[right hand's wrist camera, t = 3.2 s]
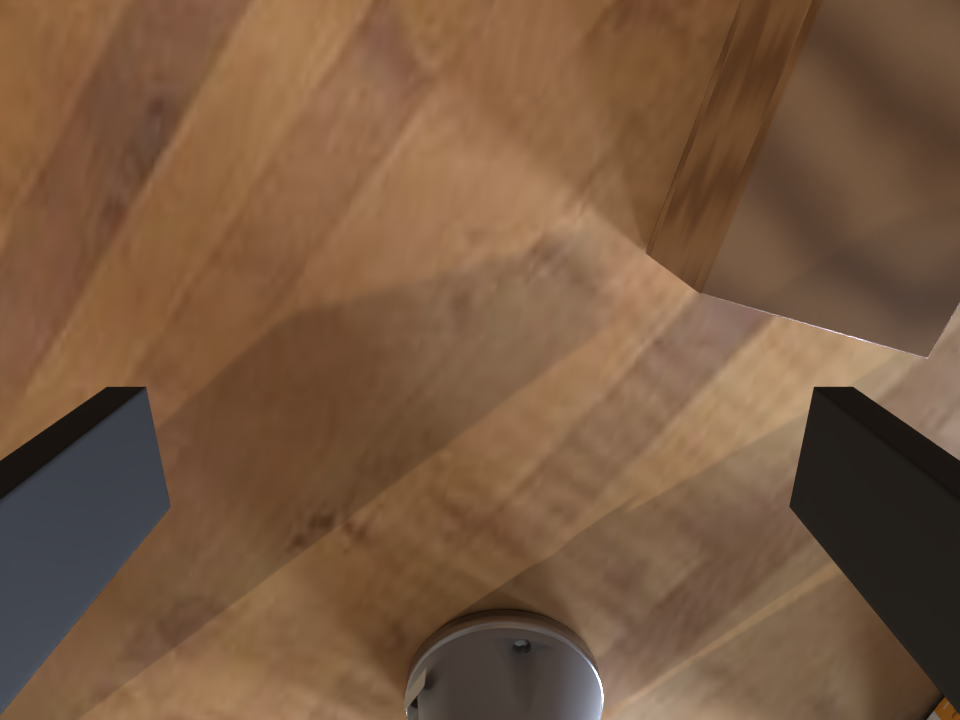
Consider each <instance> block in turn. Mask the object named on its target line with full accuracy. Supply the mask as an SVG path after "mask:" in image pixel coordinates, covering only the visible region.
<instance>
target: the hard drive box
mask: <svg viewBox="0 0 960 720" xmlns="http://www.w3.org/2000/svg"><path fill="white" fill-rule="evenodd" d="M927 720H960V715H959V713H958V712H957V711H956V710H955V709H954V707H953V706H952V705H951V704H950V702H949V701H948V700H947V699H946V698H945V697H944V699H943V700H942V701H941V702H940V703H939V704H938V706H937V707H936V708H935V710H934V711H933V712H932V713H931V715H930V716H929V717H928V719H927Z"/></svg>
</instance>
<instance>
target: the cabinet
mask: <svg viewBox="0 0 960 720" xmlns="http://www.w3.org/2000/svg"><path fill="white" fill-rule="evenodd" d="M646 254H647V255H649V256H650V257H651V258H653V259H654V260H655V261H657V262H658V263H659V264H661V265H662V266H663V267H665V268H666V269H668V270H669V271H670V272H672V273H673V274H674V275H676V276H677V277H678V278H680V279H681V280H682V281H684V282H685V283H686V284H688V285H689V286H690V287H692V288H693V289H695V290H696V291H697V292H699V293H700V294H702V295H706V296H709V297H713V298H716V299H720V300H723V301H727V302H730V303H734V304H737V305H741V306H744V307H748V308H751V309H755V310H758V311H762V312H765V313H769V314H772V315H776V316H779V317H783V318H786V319H789V320H793V321H796V322H800V323H803V324H807V325H810V326H814V327H817V328H821V329H824V330H828V331H831V332H835V333H838V334H842V335H845V336H849V337H852V338H856V339H859V340H863V341H866V342H870V343H873V344H877V345H880V346H884V347H887V348H891V349H894V350H898V351H901V352H905V353H908V354H912V355H915V356H919V357H922V358H929V356H930V354H931V352H932V351H933V349H934V347H935V345H936V344H937V342H938V340H939V338H940V337H941V335H942V333H943V331H944V330H945V328H946V326H947V324H948V323H949V321H950V319H951V317H952V316H953V314H954V312H955V310H956V309H957V307H958V305H959V303H960V0H741V2H740V5H739V8H738V10H737V13H736V16H735V18H734V21H733V24H732V26H731V29H730V31H729V34H728V37H727V39H726V42H725V45H724V47H723V50H722V53H721V55H720V58H719V61H718V63H717V66H716V68H715V71H714V74H713V76H712V79H711V82H710V84H709V87H708V90H707V92H706V95H705V98H704V100H703V103H702V105H701V108H700V111H699V113H698V116H697V119H696V121H695V124H694V127H693V129H692V132H691V135H690V137H689V140H688V142H687V145H686V148H685V150H684V153H683V156H682V158H681V161H680V164H679V166H678V169H677V172H676V174H675V177H674V179H673V182H672V185H671V187H670V190H669V193H668V195H667V198H666V201H665V203H664V206H663V208H662V211H661V214H660V216H659V219H658V222H657V224H656V227H655V230H654V232H653V235H652V238H651V240H650V243H649V245H648V248H647V251H646Z"/></svg>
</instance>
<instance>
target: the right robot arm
mask: <svg viewBox="0 0 960 720" xmlns="http://www.w3.org/2000/svg"><path fill="white" fill-rule="evenodd" d="M170 507H171V506H170V501H169V496H168V491H167V487H166V482H165V477H164V472H163V467H162V462H161V457H160V453H159V448H158V443H157V438H156V433H155V428H154V423H153V419H152V414H151V409H150V404H149V399H148V394H147V389H146V387H106V388H105V389H103V390H102V391H100V392H99V393H97V394H96V395H95V396H93V397H92V398H90V399H89V400H87V401H86V402H84V403H83V404H82V405H80V406H79V407H77V408H76V409H74V410H73V411H71V412H70V413H69V414H67V415H66V416H64V417H63V418H61V419H60V420H58V421H57V422H56V423H54V424H53V425H51V426H50V427H48V428H47V429H46V430H44V431H43V432H41V433H40V434H38V435H37V436H35V437H34V438H33V439H31V440H30V441H28V442H27V443H25V444H24V445H22V446H21V447H20V448H18V449H17V450H15V451H14V452H12V453H11V454H9V455H8V456H7V457H5V458H4V459H2V460H1V461H0V715H1V713H2V712H3V711H4V710H5V709H6V707H7V706H8V705H9V704H10V702H11V701H12V700H13V699H14V698H15V696H16V695H17V694H18V693H19V691H20V690H21V689H22V688H23V687H24V685H25V684H26V683H27V682H28V680H29V679H30V678H31V677H32V676H33V674H34V673H35V672H36V671H37V669H38V668H39V667H40V666H41V665H42V663H43V662H44V661H45V660H46V658H47V657H48V656H49V655H50V654H51V652H52V651H53V650H54V649H55V647H56V646H57V645H58V644H59V643H60V641H61V640H62V639H63V638H64V636H65V635H66V634H67V633H68V631H69V630H70V629H71V628H72V627H73V625H74V624H75V623H76V622H77V620H78V619H79V618H80V617H81V616H82V614H83V613H84V612H85V611H86V609H87V608H88V607H89V606H90V605H91V603H92V602H93V601H94V600H95V598H96V597H97V596H98V595H99V594H100V592H101V591H102V590H103V589H104V587H105V586H106V585H107V584H108V583H109V581H110V580H111V579H112V578H113V576H114V575H115V574H116V573H117V572H118V570H119V569H120V568H121V567H122V565H123V564H124V563H125V562H126V561H127V559H128V558H129V557H130V556H131V554H132V553H133V552H134V551H135V550H136V548H137V547H138V546H139V545H140V543H141V542H142V541H143V540H144V539H145V537H146V536H147V535H148V534H149V532H150V531H151V530H152V529H153V528H154V526H155V525H156V524H157V523H158V521H159V520H160V519H161V518H162V517H163V515H164V514H165V513H166V512H167V510H168V509H169V508H170ZM789 507H790V508H791V509H792V510H793V512H794V513H795V514H796V515H797V517H798V518H799V519H800V520H801V521H802V523H803V524H804V525H805V526H806V528H807V529H808V530H809V531H810V532H811V534H812V535H813V536H814V537H815V539H816V540H817V541H818V542H819V543H820V545H821V546H822V547H823V548H824V550H825V551H826V552H827V553H828V554H829V556H830V557H831V558H832V559H833V561H834V562H835V563H836V564H837V565H838V567H839V568H840V569H841V570H842V572H843V573H844V574H845V575H846V576H847V578H848V579H849V580H850V581H851V583H852V584H853V585H854V586H855V587H856V589H857V590H858V591H859V592H860V594H861V595H862V596H863V597H864V598H865V600H866V601H867V602H868V603H869V605H870V606H871V607H872V608H873V609H874V611H875V612H876V613H877V614H878V616H879V617H880V618H881V619H882V620H883V622H884V623H885V624H886V625H887V627H888V628H889V629H890V630H891V631H892V633H893V634H894V635H895V636H896V638H897V639H898V640H899V641H900V643H901V644H902V645H903V646H904V647H905V649H906V650H907V651H908V652H909V654H910V655H911V656H912V657H913V658H914V660H915V661H916V662H917V663H918V665H919V666H920V667H921V668H922V669H923V671H924V672H925V673H926V674H927V676H928V677H929V678H930V679H931V680H932V682H933V683H934V684H935V685H936V687H937V688H938V689H939V690H940V691H941V693H942V694H943V695H944V696H945V698H946V699H947V700H948V701H949V702H950V704H951V705H952V706H953V707H954V709H955V710H956V711H957V712H958V713H959V715H960V461H959V460H958V459H956V458H955V457H953V456H952V455H951V454H949V453H948V452H946V451H945V450H943V449H942V448H940V447H939V446H938V445H936V444H935V443H933V442H932V441H930V440H929V439H927V438H926V437H925V436H923V435H922V434H920V433H919V432H917V431H916V430H914V429H913V428H912V427H910V426H909V425H907V424H906V423H904V422H903V421H902V420H900V419H899V418H897V417H896V416H894V415H893V414H891V413H890V412H889V411H887V410H886V409H884V408H883V407H881V406H880V405H878V404H877V403H876V402H874V401H873V400H871V399H870V398H868V397H867V396H865V395H864V394H863V393H861V392H860V391H858V390H857V389H855V388H854V387H814V389H813V394H812V399H811V404H810V409H809V414H808V419H807V423H806V428H805V433H804V438H803V443H802V448H801V453H800V457H799V462H798V467H797V472H796V477H795V482H794V487H793V491H792V496H791V501H790V506H789ZM602 708H603V691H602V686H601V681H600V677H599V672H598V668H597V664H596V662H595V659H594V657H593V655H592V653H591V651H590V650H589V648H588V647H587V645H586V644H585V643H584V642H583V641H582V640H581V639H580V637H578V636H577V635H576V634H575V633H574V632H573V631H571V630H570V629H568V628H567V627H565V626H564V625H562V624H560V623H558V622H556V621H554V620H552V619H550V618H547V617H544V616H541V615H538V614H534V613H530V612H524V611H516V610H493V611H485V612H480V613H475V614H471V615H468V616H465V617H462V618H459V619H457V620H455V621H453V622H451V623H449V624H447V625H445V626H443V627H442V628H440V629H439V630H437V631H436V632H435V633H433V634H432V635H431V636H430V637H429V638H428V639H427V640H426V641H425V642H424V643H423V644H422V645H421V647H420V648H419V650H418V651H417V653H416V654H415V656H414V658H413V660H412V663H411V665H410V669H409V673H408V680H407V688H406V695H405V700H404V707H403V713H404V712H405V711H406V714H407V718H408V720H600V719H601V715H602Z"/></svg>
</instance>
